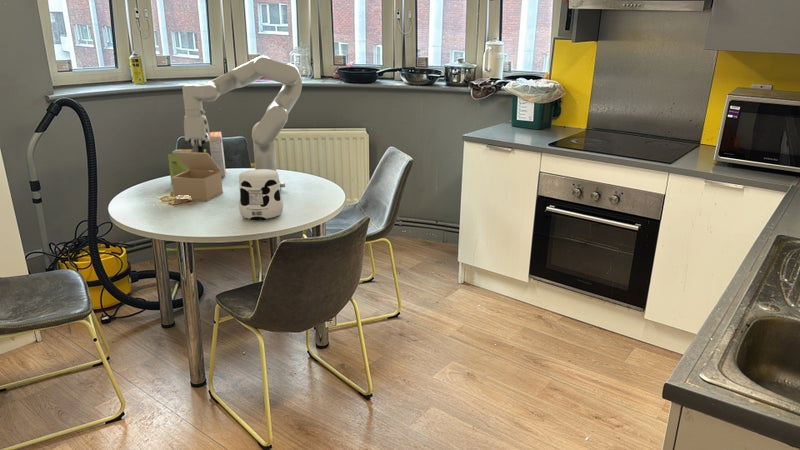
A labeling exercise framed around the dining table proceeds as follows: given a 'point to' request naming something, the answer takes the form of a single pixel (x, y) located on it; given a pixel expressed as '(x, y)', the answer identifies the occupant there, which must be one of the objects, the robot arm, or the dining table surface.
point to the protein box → (177, 163)
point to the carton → (198, 184)
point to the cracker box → (217, 150)
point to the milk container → (260, 195)
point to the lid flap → (197, 160)
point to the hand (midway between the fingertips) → (199, 153)
